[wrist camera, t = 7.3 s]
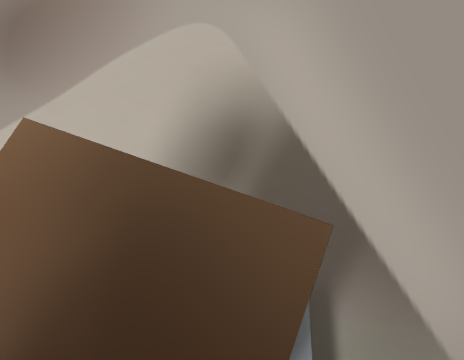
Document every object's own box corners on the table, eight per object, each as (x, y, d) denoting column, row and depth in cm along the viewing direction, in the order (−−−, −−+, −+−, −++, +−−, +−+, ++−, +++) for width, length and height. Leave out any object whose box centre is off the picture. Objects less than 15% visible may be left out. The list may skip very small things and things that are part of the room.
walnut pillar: (254, 432, 15) (155, 766, 3) (145, 376, 16) (-217, 467, 4) (296, 309, 17) (333, 225, 5) (194, 267, 18) (23, 117, 6)
